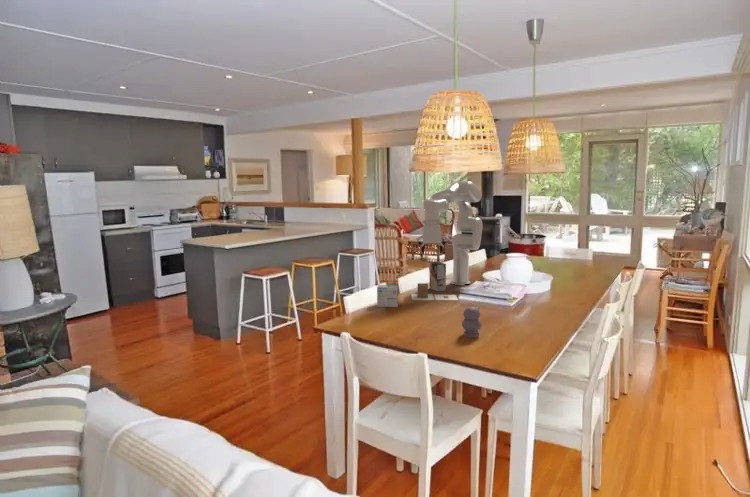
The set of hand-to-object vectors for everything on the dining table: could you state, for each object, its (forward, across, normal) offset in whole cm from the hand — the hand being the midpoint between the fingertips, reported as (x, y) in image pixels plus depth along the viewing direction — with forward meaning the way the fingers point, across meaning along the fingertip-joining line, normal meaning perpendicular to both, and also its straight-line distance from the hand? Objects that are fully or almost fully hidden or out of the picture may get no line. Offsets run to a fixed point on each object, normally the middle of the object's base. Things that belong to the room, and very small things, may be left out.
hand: (431, 253), depth 258 cm
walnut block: (+24, -6, -5) cm, 25 cm away
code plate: (+24, +7, -5) cm, 26 cm away
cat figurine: (+23, +12, -69) cm, 74 cm away
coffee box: (+25, +4, +15) cm, 29 cm away
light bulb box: (+24, -24, -24) cm, 41 cm away
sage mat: (+24, -6, -5) cm, 25 cm away
